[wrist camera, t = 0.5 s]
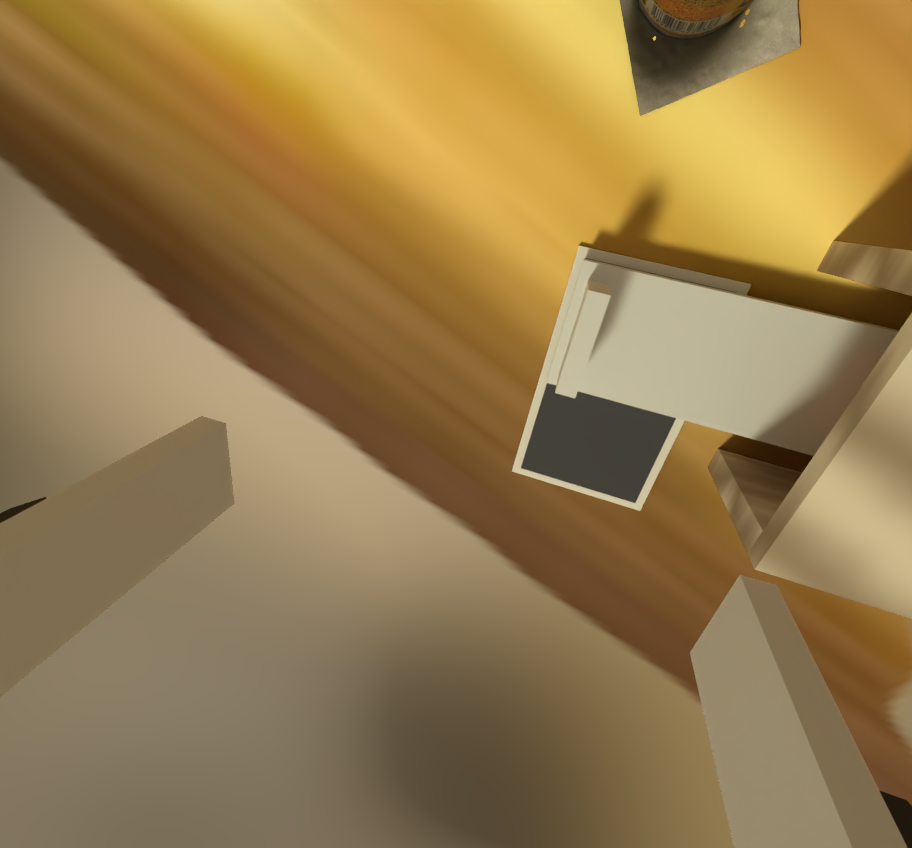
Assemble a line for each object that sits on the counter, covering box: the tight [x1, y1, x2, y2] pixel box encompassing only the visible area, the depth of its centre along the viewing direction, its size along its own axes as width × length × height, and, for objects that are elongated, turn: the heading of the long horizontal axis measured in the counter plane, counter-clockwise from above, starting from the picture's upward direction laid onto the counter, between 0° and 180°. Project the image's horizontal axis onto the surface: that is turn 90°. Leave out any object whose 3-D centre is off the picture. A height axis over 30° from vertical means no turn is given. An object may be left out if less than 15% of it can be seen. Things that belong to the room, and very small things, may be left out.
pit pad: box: [512, 246, 752, 511], centre depth 31 cm, size 17×10×1 cm, turn 169°
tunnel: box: [708, 241, 912, 619], centre depth 22 cm, size 15×11×10 cm
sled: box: [546, 258, 900, 456], centre depth 24 cm, size 8×25×7 cm, turn 79°
